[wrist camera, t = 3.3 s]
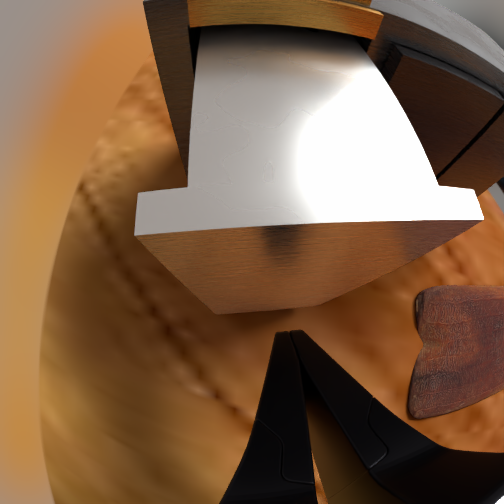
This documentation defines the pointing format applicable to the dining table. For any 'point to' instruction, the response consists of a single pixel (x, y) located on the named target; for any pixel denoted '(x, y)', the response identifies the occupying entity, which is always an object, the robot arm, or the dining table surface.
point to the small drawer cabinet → (384, 58)
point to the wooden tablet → (457, 348)
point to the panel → (295, 175)
